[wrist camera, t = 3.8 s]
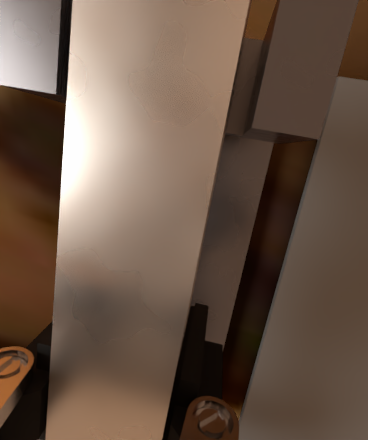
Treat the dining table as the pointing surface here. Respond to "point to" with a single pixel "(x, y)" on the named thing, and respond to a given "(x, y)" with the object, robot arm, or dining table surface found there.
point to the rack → (237, 121)
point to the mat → (321, 296)
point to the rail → (135, 204)
